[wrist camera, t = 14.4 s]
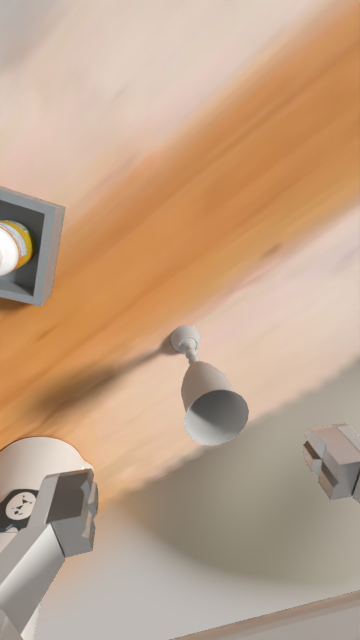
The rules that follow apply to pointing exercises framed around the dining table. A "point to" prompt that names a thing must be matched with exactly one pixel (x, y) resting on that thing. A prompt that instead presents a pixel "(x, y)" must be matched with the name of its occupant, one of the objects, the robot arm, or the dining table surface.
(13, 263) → the supplement bottle
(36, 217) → the tray
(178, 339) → the chalice
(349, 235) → the dining table surface
